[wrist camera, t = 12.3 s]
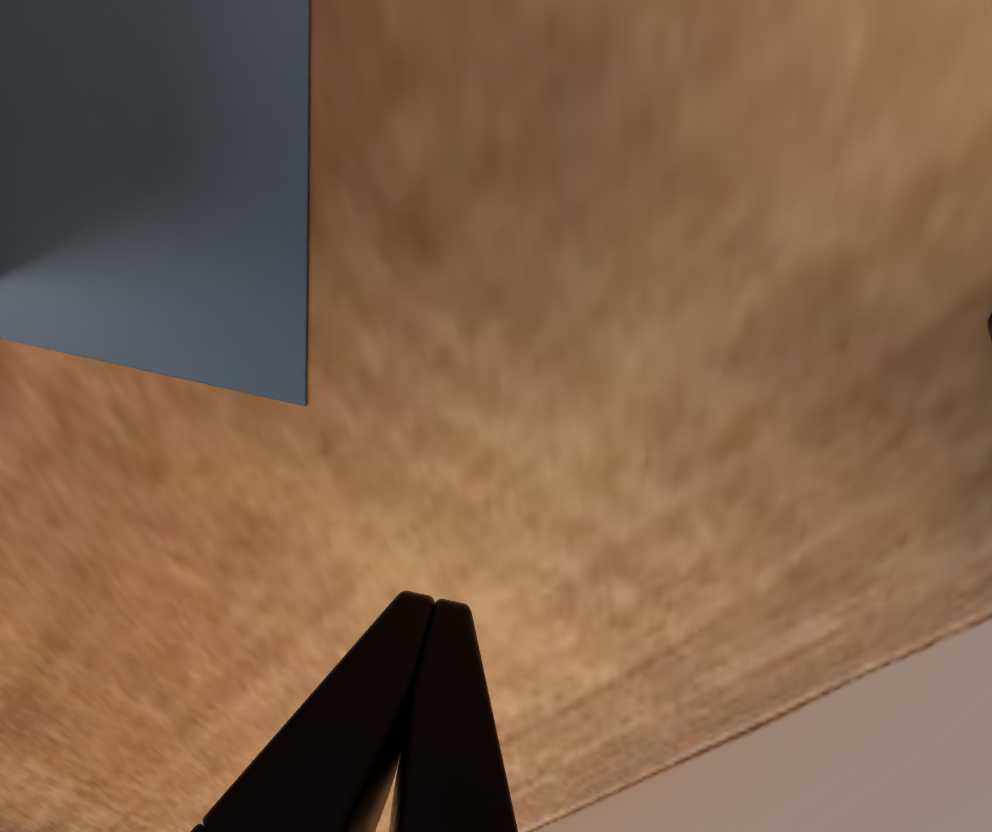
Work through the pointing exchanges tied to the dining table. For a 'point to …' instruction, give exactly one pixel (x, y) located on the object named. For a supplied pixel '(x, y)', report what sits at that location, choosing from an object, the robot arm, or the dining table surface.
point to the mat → (158, 186)
